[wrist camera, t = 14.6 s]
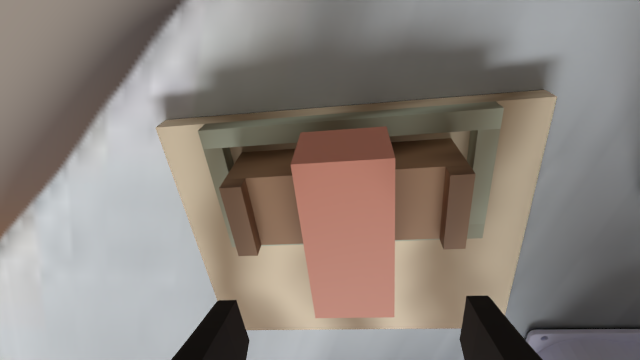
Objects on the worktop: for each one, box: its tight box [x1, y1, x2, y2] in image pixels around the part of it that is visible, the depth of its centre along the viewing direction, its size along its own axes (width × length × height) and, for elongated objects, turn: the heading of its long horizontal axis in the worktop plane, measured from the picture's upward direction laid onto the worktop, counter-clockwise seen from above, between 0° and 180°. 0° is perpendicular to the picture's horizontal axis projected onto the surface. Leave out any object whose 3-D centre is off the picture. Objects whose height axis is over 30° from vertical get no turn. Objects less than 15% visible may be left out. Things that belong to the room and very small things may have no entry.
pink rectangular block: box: [291, 126, 395, 318], centre depth 15 cm, size 4×8×3 cm, turn 6°
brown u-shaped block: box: [219, 138, 476, 256], centre depth 17 cm, size 11×4×4 cm, turn 96°
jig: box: [156, 90, 557, 330], centre depth 21 cm, size 20×16×2 cm
